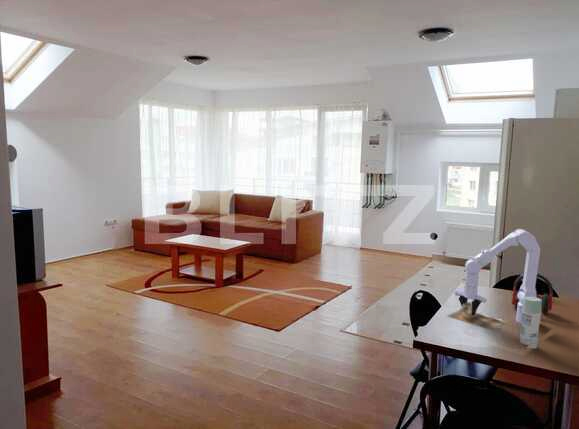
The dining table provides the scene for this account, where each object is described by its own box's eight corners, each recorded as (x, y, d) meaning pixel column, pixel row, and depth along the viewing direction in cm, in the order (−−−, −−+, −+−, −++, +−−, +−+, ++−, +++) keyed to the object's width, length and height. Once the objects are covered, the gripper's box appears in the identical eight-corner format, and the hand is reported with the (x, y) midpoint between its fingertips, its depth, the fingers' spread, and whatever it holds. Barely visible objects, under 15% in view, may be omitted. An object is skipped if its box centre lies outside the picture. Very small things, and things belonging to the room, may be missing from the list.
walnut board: (507, 324, 206) (508, 319, 206) (493, 333, 196) (493, 327, 195) (462, 311, 222) (462, 306, 222) (446, 319, 212) (446, 313, 211)
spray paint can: (540, 348, 181) (545, 301, 178) (526, 349, 180) (531, 301, 177) (529, 342, 187) (533, 295, 185) (515, 343, 186) (519, 296, 183)
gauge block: (477, 315, 213) (478, 303, 212) (468, 319, 207) (469, 307, 206) (468, 313, 216) (469, 301, 215) (460, 317, 210) (460, 304, 209)
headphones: (511, 311, 225) (514, 272, 222) (511, 305, 234) (514, 268, 231) (551, 317, 217) (555, 277, 214) (550, 311, 226) (554, 272, 223)
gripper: (452, 283, 212) (450, 311, 214) (482, 290, 202) (480, 319, 204) (459, 280, 217) (457, 307, 219) (489, 287, 207) (487, 316, 208)
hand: (468, 313), depth 212 cm, fingers closed on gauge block, 4 cm apart
